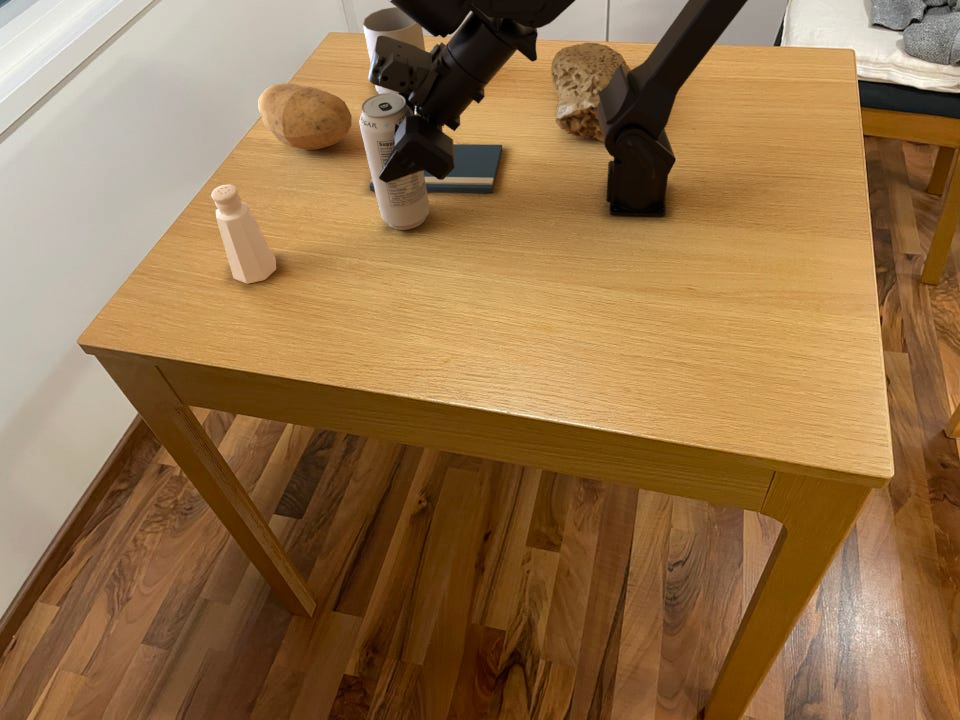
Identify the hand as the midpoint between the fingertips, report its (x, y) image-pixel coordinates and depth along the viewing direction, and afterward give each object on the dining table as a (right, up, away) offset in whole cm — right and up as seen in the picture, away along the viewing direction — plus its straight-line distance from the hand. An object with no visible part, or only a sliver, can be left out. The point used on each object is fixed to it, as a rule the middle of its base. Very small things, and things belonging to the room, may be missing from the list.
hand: (383, 164), depth 86 cm
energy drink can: (+2, -5, +6) cm, 8 cm away
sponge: (+27, +13, +20) cm, 36 cm away
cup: (-1, +20, +30) cm, 36 cm away
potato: (-12, +8, +20) cm, 25 cm away
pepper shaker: (-15, -12, +2) cm, 20 cm away
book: (+5, +3, +13) cm, 14 cm away
